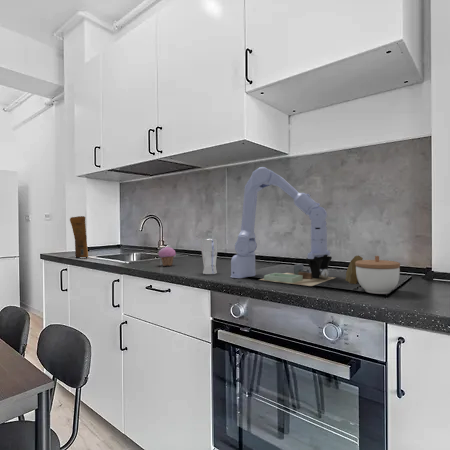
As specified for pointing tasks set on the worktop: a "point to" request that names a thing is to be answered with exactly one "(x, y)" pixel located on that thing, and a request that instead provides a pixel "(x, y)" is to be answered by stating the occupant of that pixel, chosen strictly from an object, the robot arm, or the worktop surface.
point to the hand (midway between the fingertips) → (319, 276)
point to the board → (306, 281)
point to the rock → (352, 271)
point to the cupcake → (167, 255)
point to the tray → (283, 277)
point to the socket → (305, 275)
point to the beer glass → (209, 255)
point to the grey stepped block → (298, 268)
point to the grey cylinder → (322, 273)
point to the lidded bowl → (377, 275)
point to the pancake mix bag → (79, 236)
